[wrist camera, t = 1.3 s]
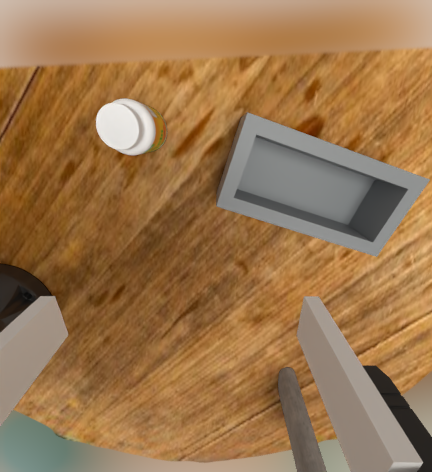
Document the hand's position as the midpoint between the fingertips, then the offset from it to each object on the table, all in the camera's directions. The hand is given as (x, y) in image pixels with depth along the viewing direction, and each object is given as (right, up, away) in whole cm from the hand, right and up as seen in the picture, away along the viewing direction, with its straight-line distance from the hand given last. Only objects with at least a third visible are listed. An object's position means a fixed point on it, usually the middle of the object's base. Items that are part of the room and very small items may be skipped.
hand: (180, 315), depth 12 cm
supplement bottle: (-7, +18, +18) cm, 27 cm away
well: (+14, +12, +20) cm, 27 cm away
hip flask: (+18, -30, +39) cm, 53 cm away
